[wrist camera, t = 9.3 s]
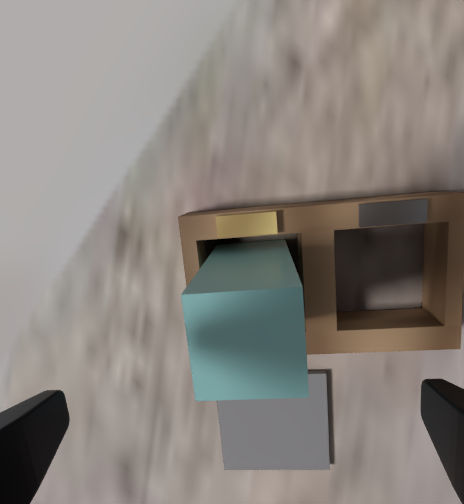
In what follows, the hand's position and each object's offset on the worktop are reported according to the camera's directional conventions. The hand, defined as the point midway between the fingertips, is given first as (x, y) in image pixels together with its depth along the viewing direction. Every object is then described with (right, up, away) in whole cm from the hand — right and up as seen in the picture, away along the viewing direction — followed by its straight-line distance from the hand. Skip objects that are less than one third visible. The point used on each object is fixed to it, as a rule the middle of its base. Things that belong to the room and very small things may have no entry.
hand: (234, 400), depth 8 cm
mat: (+3, -7, +14) cm, 16 cm away
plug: (+1, +2, +12) cm, 12 cm away
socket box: (+5, +3, +11) cm, 13 cm away
